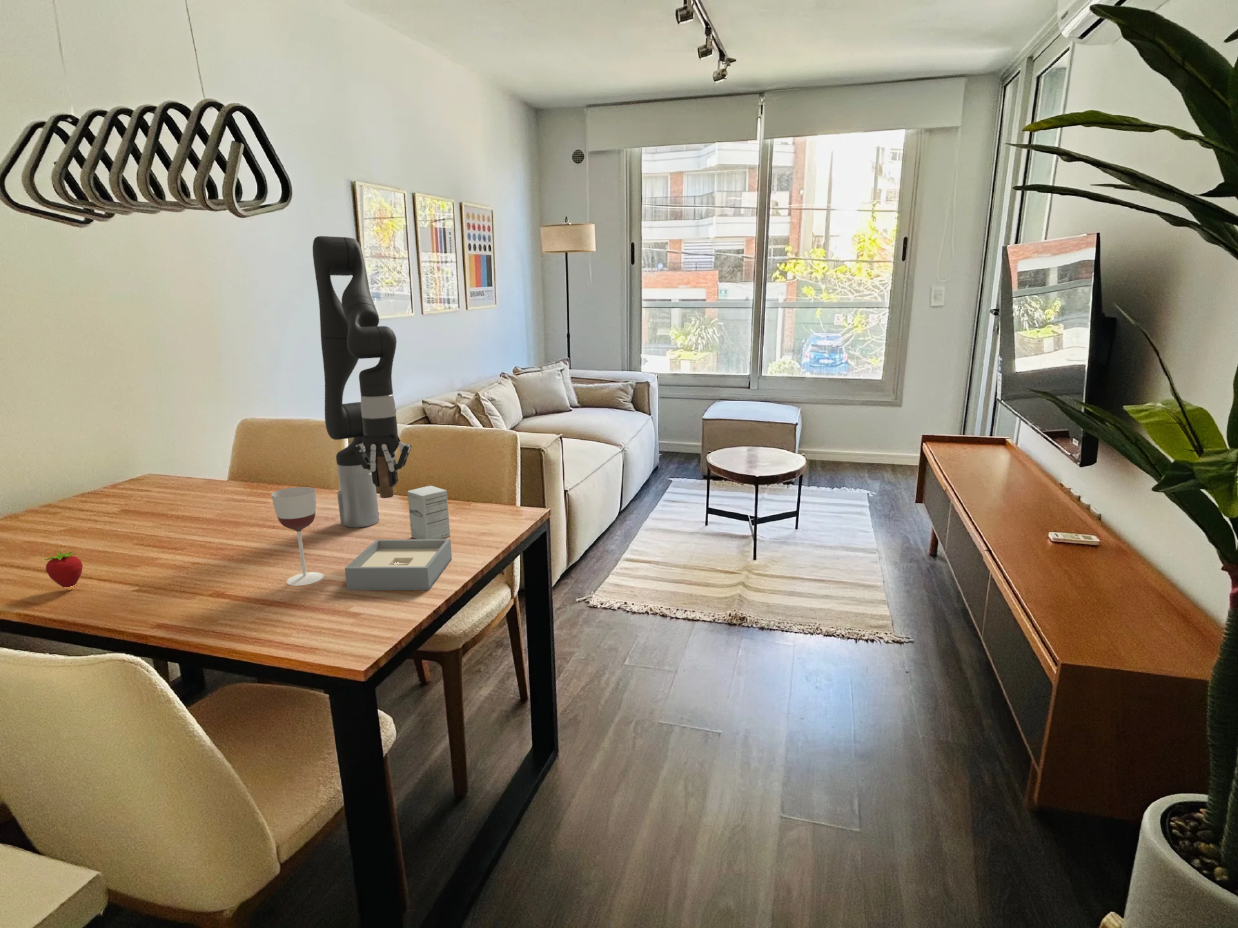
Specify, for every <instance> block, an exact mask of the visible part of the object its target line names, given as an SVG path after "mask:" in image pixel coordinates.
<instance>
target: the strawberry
mask: <svg viewBox="0 0 1238 928" xmlns="http://www.w3.org/2000/svg"><path fill="white" fill-rule="evenodd" d="M54 549H56V550H57V551H59V552H57V554H56V556H55V555H53V556H50V557H47V558H44V561H47V563H46V564H45V572H46V573H47V575H48V576H49V578H50V579H51V580H52V581H54V582H55V583H56V584H57V585H58V586H60V587H62V588H64V587H70V586H73V585H75V584H76V585H77V583H78V582H79V579H80V577H81V575H82V573H83V565H84V564H83V562H82V560H81V559H80V558H78V557H77V556H75V555H76V553H74V551H69V552H66V553H62V551H61V550H60V549H58V548H56V547H54ZM76 585H75V586H76Z"/></svg>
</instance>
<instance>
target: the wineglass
mask: <svg viewBox="0 0 1238 928" xmlns="http://www.w3.org/2000/svg"><path fill="white" fill-rule="evenodd" d="M271 500H272V504H273V508H274V512H275V514H276V517H277V520H278V522H279V523H280V524H281V525H282V526H283V527H285V528H287V529H289V530H292V531H295V532H296V535H297V543H298V548H299V556H300V565H301V573H299V574H295V575H292V576H291V577H289V578H288V579H287V580H286V584H288V585H289V586H295V587H296V586H297V587H298V586H306V585H311V584H315V583H317V582H319V581H321V580H322V579H323V578H324V574H323V573H321V572H316V571H312V572H311V571H310V572H307V569H306V568H307V567H306V560H305V554H304V545H303V538H302V530H304V529H306V528H307V527H309V526H310V525H311V524H312V523H313V522H314V520H315V518H316V508H317V495H316V489H315V488H313V487H309V486H299V487H298V486H297V487H289V488H281V489H278V490H275V491H273V492H272V493H271Z"/></svg>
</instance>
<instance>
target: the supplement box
mask: <svg viewBox="0 0 1238 928" xmlns="http://www.w3.org/2000/svg"><path fill="white" fill-rule="evenodd" d="M406 492H407V502H408V503H407V504H408V512H409V524H410V525H409V526H410V535H411V538H412V539H413V538H414V539H447V538H449V537H451V529H450V517H449V516H450V515H449V504H448V491H447V489H443V488H439V487H437V486H433V485H426V486H423V487H419V488H418V487H417V488H415V489H409V490H407V491H406Z"/></svg>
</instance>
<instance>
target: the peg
mask: <svg viewBox="0 0 1238 928" xmlns="http://www.w3.org/2000/svg"><path fill="white" fill-rule="evenodd" d="M376 459H377V470H378V479H379V487H378V489H379V496H380V499H389V498H392V497H394V487H390V480H389V472H390V470H389V466H388V463H387V462H386V459H385V457H377V458H376Z"/></svg>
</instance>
